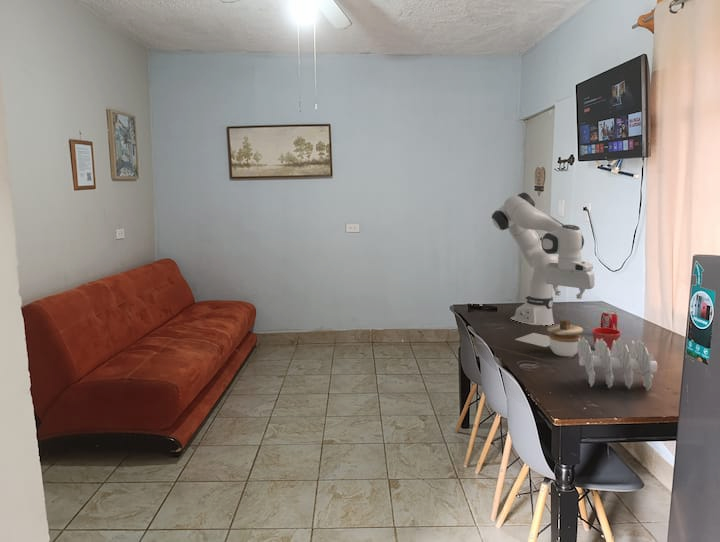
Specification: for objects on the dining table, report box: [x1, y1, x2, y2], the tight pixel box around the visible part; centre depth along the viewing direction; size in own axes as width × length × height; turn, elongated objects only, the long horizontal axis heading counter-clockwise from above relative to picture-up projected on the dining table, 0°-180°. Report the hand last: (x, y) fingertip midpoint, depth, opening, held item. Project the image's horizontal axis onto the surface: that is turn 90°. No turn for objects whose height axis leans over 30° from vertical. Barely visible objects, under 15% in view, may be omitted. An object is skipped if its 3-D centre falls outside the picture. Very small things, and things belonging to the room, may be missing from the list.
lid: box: [546, 318, 584, 335], centre depth 216 cm, size 14×14×4 cm
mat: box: [514, 332, 550, 348], centre depth 238 cm, size 16×16×1 cm
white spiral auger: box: [577, 336, 658, 391], centre depth 183 cm, size 18×18×25 cm
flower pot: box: [592, 327, 622, 350], centre depth 220 cm, size 11×11×10 cm
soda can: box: [600, 310, 618, 330], centre depth 242 cm, size 7×7×12 cm
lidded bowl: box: [548, 332, 582, 359], centre depth 217 cm, size 13×13×11 cm
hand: (568, 296), depth 214 cm, fingers open, 8 cm apart
